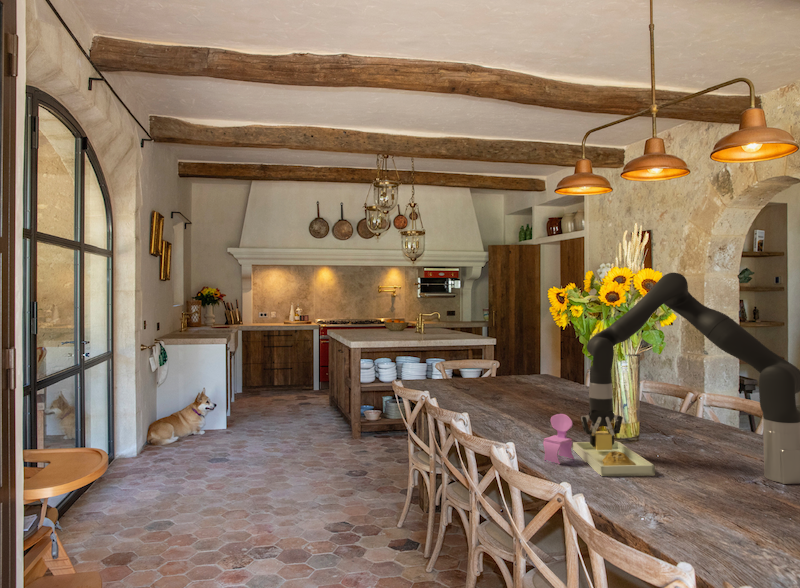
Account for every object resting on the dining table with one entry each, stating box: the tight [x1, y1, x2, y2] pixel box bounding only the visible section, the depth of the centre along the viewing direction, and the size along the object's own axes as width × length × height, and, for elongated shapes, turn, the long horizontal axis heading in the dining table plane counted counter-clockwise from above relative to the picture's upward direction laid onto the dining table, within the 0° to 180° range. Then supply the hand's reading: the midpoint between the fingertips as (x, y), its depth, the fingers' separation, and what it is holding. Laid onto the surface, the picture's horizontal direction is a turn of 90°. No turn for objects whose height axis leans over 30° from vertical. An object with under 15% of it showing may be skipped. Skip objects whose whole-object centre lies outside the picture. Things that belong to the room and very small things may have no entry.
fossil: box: [602, 451, 636, 466], centre depth 174 cm, size 11×6×10 cm
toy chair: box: [542, 413, 575, 465], centre depth 185 cm, size 8×9×15 cm
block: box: [594, 430, 612, 450], centre depth 191 cm, size 5×5×5 cm
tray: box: [572, 440, 656, 477], centre depth 182 cm, size 28×16×3 cm, turn 0°
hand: (601, 445), depth 191 cm, fingers closed on block, 5 cm apart
